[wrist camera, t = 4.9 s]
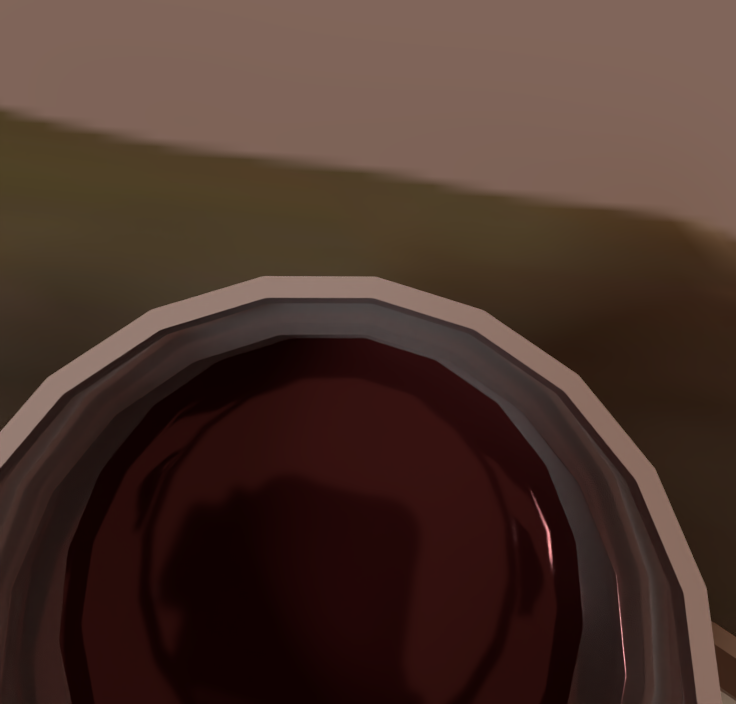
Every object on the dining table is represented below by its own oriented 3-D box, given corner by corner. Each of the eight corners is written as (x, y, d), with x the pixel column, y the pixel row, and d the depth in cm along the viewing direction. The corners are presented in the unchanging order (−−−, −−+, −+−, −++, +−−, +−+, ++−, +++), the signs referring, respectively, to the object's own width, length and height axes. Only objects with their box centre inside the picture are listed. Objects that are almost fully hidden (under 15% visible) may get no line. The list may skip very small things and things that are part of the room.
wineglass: (457, 417, 17) (731, 325, 5) (432, 644, 15) (731, 1288, 3) (249, 386, 16) (14, 214, 5) (205, 612, 15) (-280, 1159, 3)
